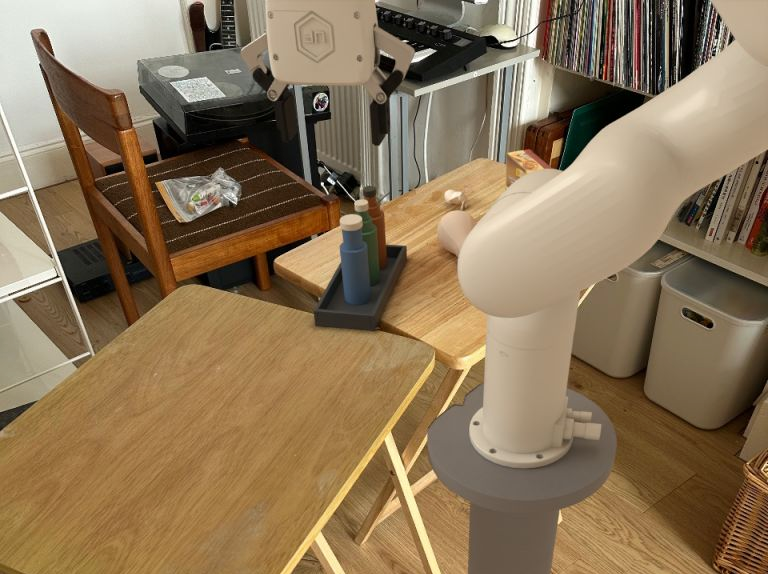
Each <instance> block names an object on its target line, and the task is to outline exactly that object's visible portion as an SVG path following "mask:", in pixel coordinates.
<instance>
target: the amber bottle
mask: <svg viewBox="0 0 768 574" xmlns="http://www.w3.org/2000/svg"><path fill="white" fill-rule="evenodd" d="M362 196H363V200H367V201H368V215H369V216H371V217H372V224H374V225H375V226H376V228H377V242H378V257H379V270H382V269H384V268H385V267H386V266H387V253H386V244H387V239H386V236H387V235H386V220H385V212H384V211H383V210H382V209H381V204H380V202H379V201H377V187H376V186H375V185H366V186H364V187H363V189H362Z"/></svg>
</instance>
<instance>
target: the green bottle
mask: <svg viewBox="0 0 768 574" xmlns="http://www.w3.org/2000/svg"><path fill="white" fill-rule="evenodd" d="M353 205H354V211H355V215H359V216H361V217H362V223H363V226H362V227H361V228H362V241H364V242H366V244H367V252H368V265H369V278H370V286H373V285H375V284H377V283H378V282H379V281H380V272H379V257H378V242H377V228H376V226H375V225H374V224H372V217H371V216H369V215H368V201H367V200H364V198H363V199H357V200H355V201H354V204H353Z"/></svg>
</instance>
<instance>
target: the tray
mask: <svg viewBox="0 0 768 574" xmlns="http://www.w3.org/2000/svg"><path fill="white" fill-rule="evenodd" d="M386 253H387V266H386V267H385V268H384V269H382V270H379V272H380V281H379V282H378V283H377V284H375V285H373V286H370V291H371V299H370V300H369V301H368V302H367V303H364V304H361V305H352V304H349V303H347V302H346V301H345V296H344V286H343V276H342V266H341V262H339V264H338V266H337V268H336V270H335V271H334V273H333V274H332V276H331V278H330V280H329V281H328V284H327V286H326V288H325V289H324V291H323V292H322V294H321V296H320V298H319V300H318V302H317V304H316V305H315V306H314V309H313V311H312V312H313V319H314V326H317V327H326V328H327V327H328V328H330V327H331V328H340V329H349V330H350V329H351V330H360V331H372V332H375V331H376V330H377V328H378V326H379V324H380V321H381V319H382V317H383V314H384V313H385V310H386V308H387V306H388V303H389V301H390V299H391V297H392V294H393V292H394V291H395V289H396V288H395V287H396V286H397V283H398V281H399V280H400V276H401V275H402V273H403V270H404V267H405V265H406V263H407V261H408V249H407V245H402V244H387V243H386Z"/></svg>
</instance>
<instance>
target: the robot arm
mask: <svg viewBox="0 0 768 574" xmlns="http://www.w3.org/2000/svg"><path fill="white" fill-rule="evenodd" d="M264 2H265V3H264V4H265V20H266V21H265V22H266V23H265V24H266V31H265V32H264V33H262V34H261V35H260V36H258V37H257V38H255V39H254V40H252V41H250V42H249V43H248V44H246V45H245V46H244V47H243V48H242V49H241V50H240V52H239V54H240V57H241V59H242V60H243V62H244V64H245V65H246V67H247V69H248V70H249V72H251V74H252V79H253V81H254V82H255V83H256V84H257V85H258V86H259V87H260V88H261V89H262V90H263V91H264V92H265V93H266V96H267V98H268V99H269V100H270V101H272V103H273V110H274V117H275V124H276V129H277V130H278V131H279V132H280V135H281V142H282V143H289V142H291V141H292V139H293V138H294V137H295V136H296V135H297V133H298V132H299V128H298V119H297V113H296V104H295V96H294V93H293V92H292V90H291V91H290V90H289V89H290V88H289V87H290V85H293V86H323V87H324V86H331V87H332V86H333V87H353V86H355V87H356V86H360V85H362V86H363V87H364V88H365V90H366V91H367V93H369V96H371V97H372V102H371V103H370V104H369V117H370V133H371V134H370V135H371V144H372V145H373V146H374V147H380V146H381V145H382V143H383V141H384V140H385V138H386V136H387V135H389V133H390V131H391V111H390V109H391V108H390V97H391V96H392V95H393V93H394V92H395V91H396V90H397V88H398V87H399V86H400V85H401V84H402V83H403V81H404V79H405V78H406V75H407V73H408V71H409V68H410V66H411V65H412V64H411V63H412V62H413V60H414V57H415V55H416V50H415V49H414V47H412V46H411V45H409V44H407V43H406V42H405V41H402V39H399V38H397V37H396V36H394V35H393V34H391V33H389V32H388V31H385V30H384V29H382V28H381V27H379V23H378V15H377V8H376V1H375V0H264ZM710 2H711V4H712V5H713V8H715V10H716V11H717V13H718V15H719V16H720V18H721V20H722V22H723V23H724V24H725V26H726V27H727V29H728V30H729V32H730V33H731V35H732V36H733V38H734V40H733V41H732V42H730V44H729V45H727V47H725V48H724V49H723V50H721V51H720V52H719V53H718V54H716V55H715V56H713V57H711V58H710V59H709V60H708V61H706V62H705V63H703V64H702V65H700V66H699V67H698V68H696V69H695V70H693V71H692V72H691V73H690V74H688V75H686V76H685V77H684V78H683V79H681V80H680V81H678V82H677V83H675V84H673V85H672V86H670V87H668V88H667V89H665V90H664V91H662V92H661V93H659V94H658V95H655V96H654V97H653V98H651V99H650V100H648V101H646V102H645V103H643V104H642V105H640V106H639V107H637V108H635V109H634V110H632V111H630V112H628V113H626V114H625V115H623V116H621V117H620V118H618V119H616V120H615V121H612V122H611V123H609V124H608V125H606V126H605V127H604V128H602V129H601V130H600V131H599V132H598V133H597V134H596V135H595V136H594V137H592V139H590V141H589V142H588V143H587V145H586V146H585V147H584V148H583V149H582V151H581V152H580V153H579V155H578V156H577V157H576V158H575V160H573V162H572V163H571V164H570V165H569V166H568V167H567V168H566V169H564V170H561V169H556V168H553V169H540V170H536V171H533V172H530V173H528V174H526V175H524V176H522V177H521V178H519V179H518V180H516V181H515V182H514V183H512V184H511V185H510V186H509V187H508V188H507V189H506V190H505V189H504V190H503V192H502V193H501V195H500V196H499V197H498V198H497V199H496V200H495V202H493V204H492V205H491V206H490V208H488V210H487V211H486V212H485V214H483V216H482V217H481V218H480V220H478V222H476V226H475V227H474V228H473V229H472V231H471V232H470V233H469V235H468V236H467V238H466V239H465V241H464V243H463V245H462V247H461V250H460V253H459V257H457V272H456V273H457V279H458V284H459V287H460V289H461V291H462V293H463V295H464V297H465V298H466V299H467V301H468V302H469V304H471V305H472V307H474V308H476V309H477V310H478V311H480V312H481V313H484V314H486V325H485V326H486V327H485V328H486V329H485V349H484V350H485V352H484V375H483V377H484V378H483V381H484V382H483V383H484V397H483V407H482V408H481V409H480V410H478V411H477V412H476V414H475V415H474V416H473V418H472V420H471V422H470V427H469V437H470V441H471V443H472V445H473V447H474V448H475V449H476V451H477V452H478V453H479V454H480V455H482V456H483V457H485V458H486V459H488V460H490V461H492V462H494V463H496V464H499V465H502V466H506V467H511V468H523V469H526V468H536V467H541V466H545V465H548V464H551V463H553V462H555V461H557V460H559V459H560V458H562V457H563V456H564V455H565V454H566V453H567V452H568V450H569V449H570V447H571V445H572V442H573V437H580V438H584V439H591V440H599V439H600V433H601V424H595V423H591V417H592V412H584V411H581V412H578V411H572V408H567V403H568V397H567V396H566V389H567V388H568V380H569V375H570V374H569V373H570V367H571V358H572V352H573V345H574V335H575V331H576V323H577V316H578V309H579V303H580V296H581V292H582V291H584V290H586V289H588V288H589V287H592V286H594V285H596V284H598V283H599V282H602V281H604V280H606V279H608V278H609V277H611V276H614V275H615V274H617V273H619V272H621V271H623V270H624V269H626V268H628V267H629V266H631V265H632V264H634V263H635V262H636V261H637V260H639V259H640V258H641V257H643V256H644V255H645V254H646V253H647V252H649V250H651V249H652V247H653V246H654V245H655V244H657V242H658V240H659V239H660V238H661V236H662V235H663V233H664V232H665V230H666V229H667V226H668V225H669V223H670V221H671V220H672V218H673V216H674V214H675V213H676V211H677V210H678V208H679V207H680V206H681V204H682V203H683V202H684V201H685V200H687V199H688V198H690V197H691V196H692V195H694V194H695V193H697V192H699V191H700V190H702V189H703V188H706V187H707V186H708V185H710V184H712V183H715V182H716V181H717V180H719V179H721V178H723V177H725V176H726V175H728V174H730V173H731V172H733V171H734V170H736V169H739V168H740V167H741V166H743V165H745V164H746V163H749V161H751V160H753V159H754V158H757V157H758V156H759V155H761V154H763V153H764V152H766V151H768V0H710ZM267 50H268V58H269V66H270V68H269V67H268V66H267V65H266V64H265V63H264V60H263V58H262V53H264V52H265V51H267ZM381 51H382V52H384V53H386V54H387V55H388V56H390V57H392V58H393V59H394V60H395V61H394V62H395V64H394V67H393V70H392V72H391V73H390V74H389V75H388V76H387V77H386V75H385V74H384V72H383V71H382V70H381V69H380V67H379V66H380V63H381ZM574 421H575V422H574ZM578 422H580V423H578Z"/></svg>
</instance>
